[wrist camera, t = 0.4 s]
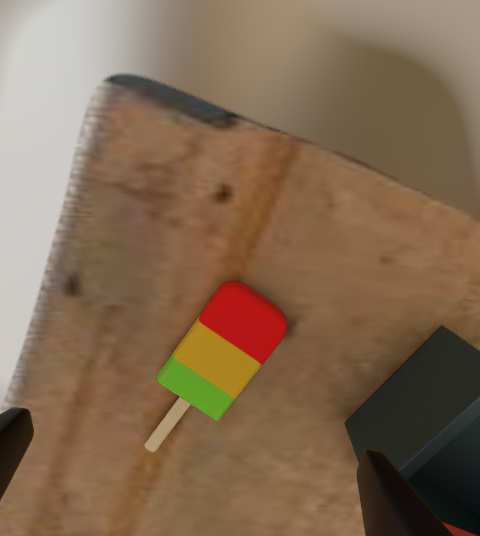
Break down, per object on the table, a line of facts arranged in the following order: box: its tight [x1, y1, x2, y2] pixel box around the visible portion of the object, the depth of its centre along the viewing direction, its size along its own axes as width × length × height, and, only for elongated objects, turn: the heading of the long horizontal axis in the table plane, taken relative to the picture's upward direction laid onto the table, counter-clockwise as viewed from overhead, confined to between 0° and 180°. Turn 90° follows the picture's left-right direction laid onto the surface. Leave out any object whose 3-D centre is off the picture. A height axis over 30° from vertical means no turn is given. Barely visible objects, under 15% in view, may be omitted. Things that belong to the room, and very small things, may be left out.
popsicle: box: [145, 281, 287, 452], centre depth 24 cm, size 6×15×2 cm, turn 145°
